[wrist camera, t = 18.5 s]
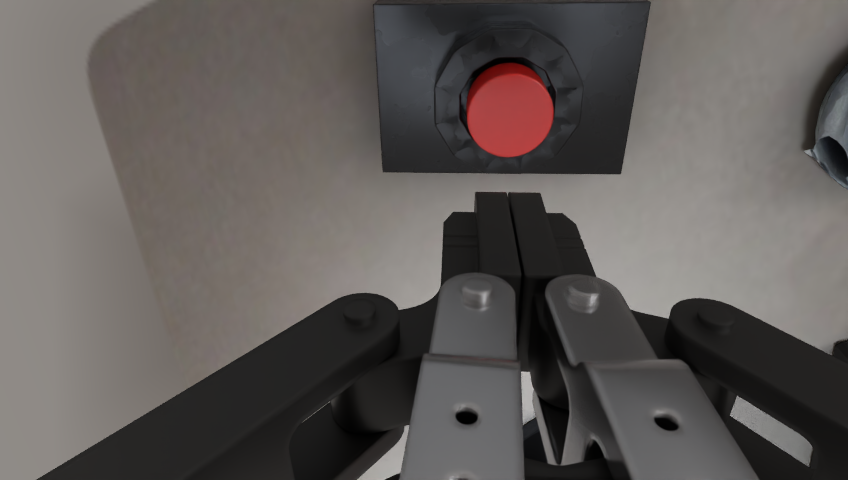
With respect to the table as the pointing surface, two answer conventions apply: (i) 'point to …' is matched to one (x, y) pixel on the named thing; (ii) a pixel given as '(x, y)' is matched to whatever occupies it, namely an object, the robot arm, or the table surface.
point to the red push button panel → (506, 43)
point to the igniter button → (509, 110)
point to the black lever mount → (533, 442)
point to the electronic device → (833, 131)
